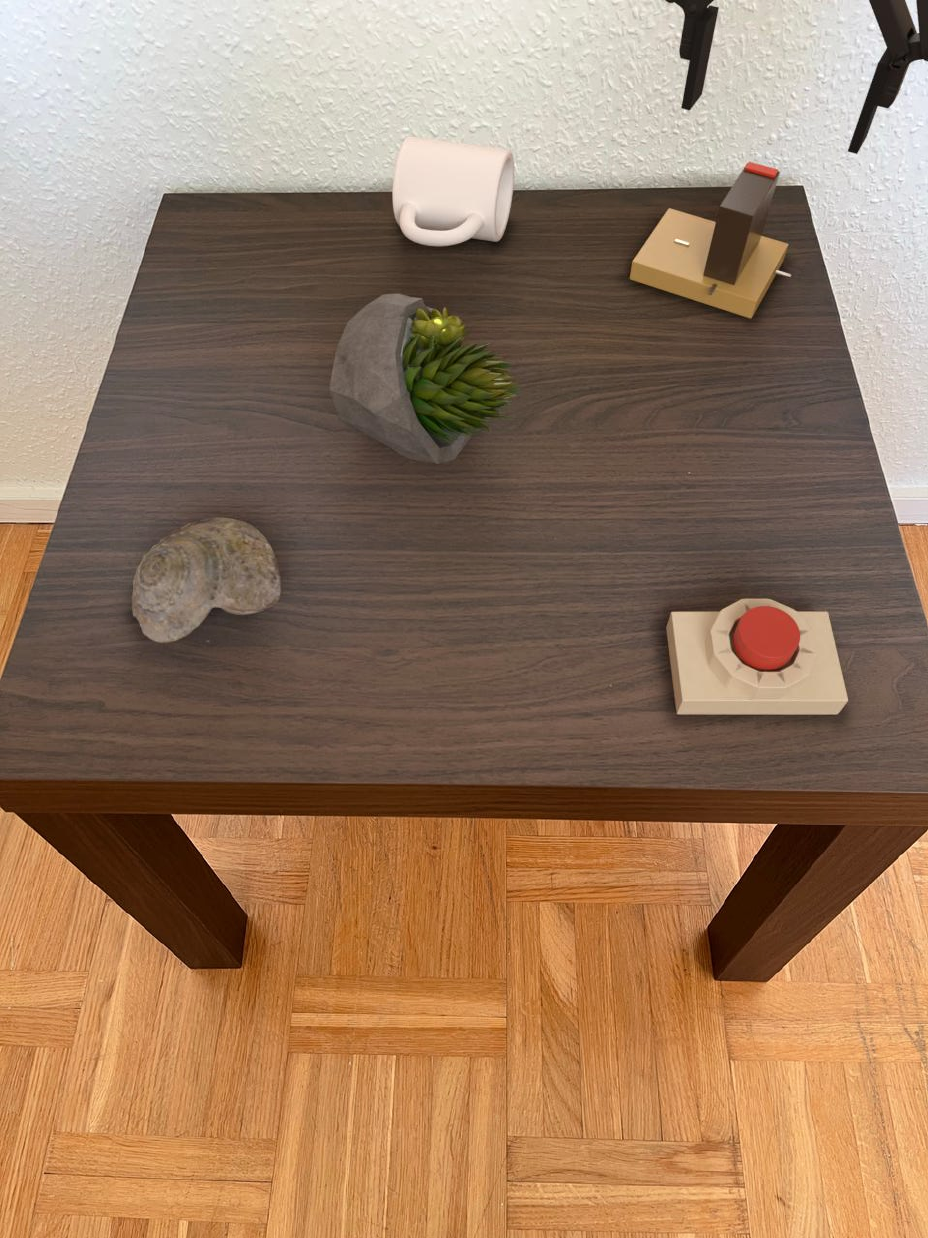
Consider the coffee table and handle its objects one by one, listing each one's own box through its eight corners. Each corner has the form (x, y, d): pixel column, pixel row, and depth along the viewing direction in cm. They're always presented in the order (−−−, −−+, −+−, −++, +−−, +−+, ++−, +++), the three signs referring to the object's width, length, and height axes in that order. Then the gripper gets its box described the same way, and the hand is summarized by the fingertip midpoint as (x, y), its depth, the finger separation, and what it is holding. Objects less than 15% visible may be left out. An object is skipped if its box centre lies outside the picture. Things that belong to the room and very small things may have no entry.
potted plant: (396, 311, 79) (557, 313, 73) (383, 460, 81) (538, 475, 75) (314, 277, 69) (493, 276, 62) (300, 449, 71) (473, 465, 64)
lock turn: (734, 285, 82) (754, 213, 76) (702, 275, 83) (720, 203, 77) (759, 241, 85) (781, 168, 79) (729, 232, 86) (748, 159, 80)
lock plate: (803, 260, 87) (809, 240, 85) (764, 332, 82) (770, 312, 80) (669, 219, 91) (673, 199, 89) (624, 286, 86) (627, 266, 84)
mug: (419, 195, 93) (414, 118, 87) (513, 209, 92) (516, 132, 85) (382, 269, 87) (374, 193, 81) (483, 286, 86) (483, 210, 79)
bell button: (787, 618, 62) (794, 605, 61) (797, 670, 60) (805, 657, 59) (728, 619, 62) (734, 605, 61) (736, 670, 60) (743, 658, 59)
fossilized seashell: (180, 506, 71) (173, 473, 64) (304, 567, 72) (310, 540, 65) (110, 626, 68) (96, 604, 61) (241, 687, 69) (241, 672, 62)
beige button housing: (818, 627, 66) (836, 597, 63) (837, 714, 62) (858, 688, 59) (665, 627, 66) (675, 597, 63) (676, 714, 63) (687, 688, 59)
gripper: (1098, -221, 53) (943, 137, 71) (691, -277, 60) (644, 63, 78) (1075, -175, 49) (918, 189, 67) (646, -240, 56) (608, 106, 74)
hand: (772, 122), depth 73 cm, fingers open, 13 cm apart
